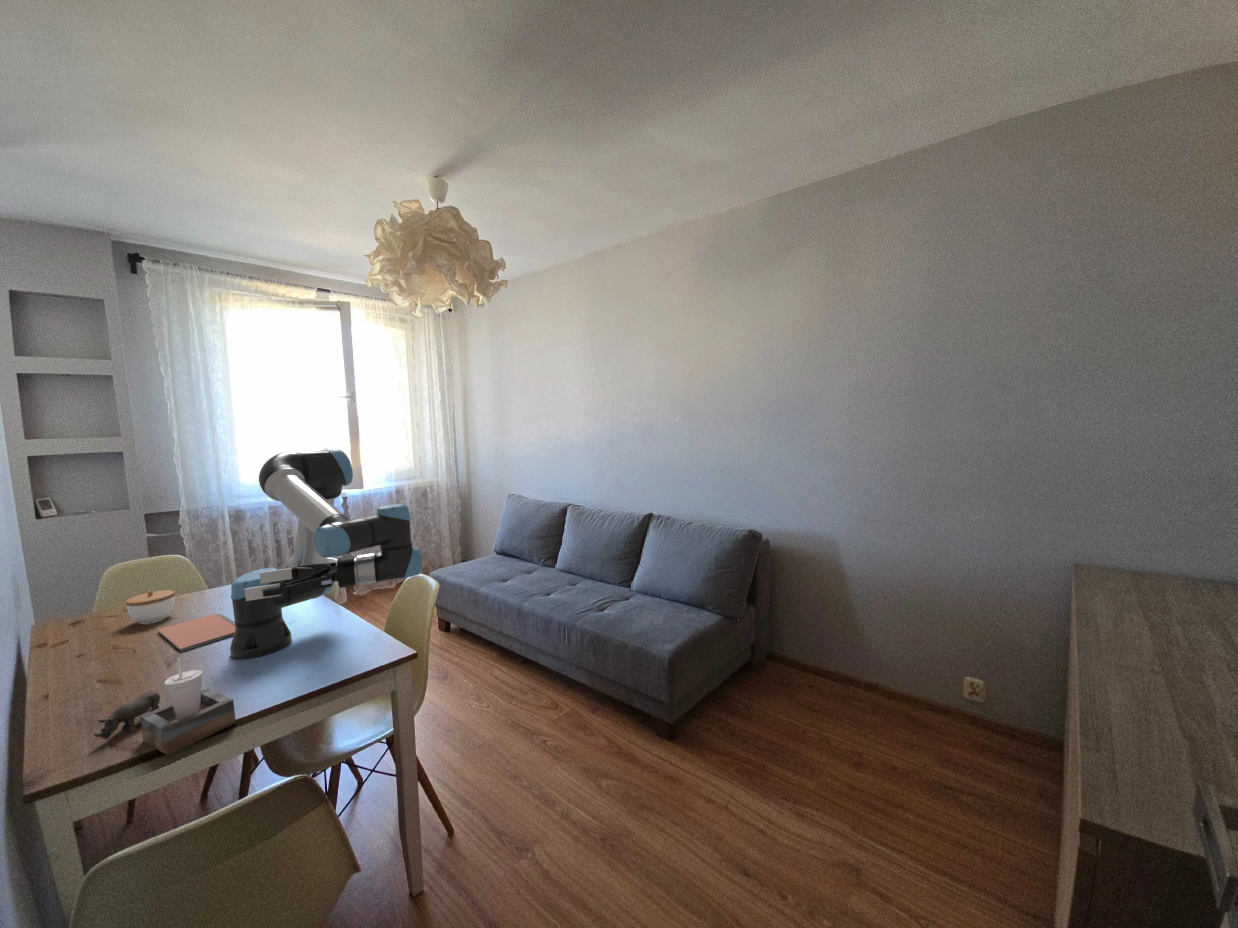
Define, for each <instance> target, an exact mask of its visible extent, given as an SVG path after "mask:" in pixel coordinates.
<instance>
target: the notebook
mask: <svg viewBox="0 0 1238 928" xmlns="http://www.w3.org/2000/svg"><path fill="white" fill-rule="evenodd" d="M233 623H234V624H233ZM157 631H158V633H159V634H160V635H161V636H162V637H164V638H165V639H166V640H167V641H168V642H169V643H171V644H172V646H174V647H175V648H176V649H178V650H179V651H180V653H181V652H186V651H188V650H191V649H194V648H198V647H201V646H204V645H207V644H210V643H211V644H212V643H214V642H216V641H217V642H218V641H220V640H224V639H227V637H228V638H231V637H233V635H234V632H235V620H234V621H233V620H232V619H230V618H228V616H225V615H223V614H222V613H212V614H209V615H205V616H202V617H198V618H194V619H191V620H187V621H184V622H180V623H176V624H173V625H169V626H166V627H162V628H158V629H157ZM230 636H231V637H230Z"/></svg>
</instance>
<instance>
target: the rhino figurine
mask: <svg viewBox="0 0 1238 928" xmlns="http://www.w3.org/2000/svg"><path fill="white" fill-rule="evenodd" d="M160 700H161V697H160V694H159V693H158V692H157V691H155V690H149V691H146V692H144V693H143V694H140V695H139V696H138V697H137V698H135V699H134V700H132V701H130V702H126V703H123V704H121V705H120V706H118V707H117V708H116V709H114V711H112V712H111V714H110V715H109V716H107V717H106V718H103V719H97V721H98V723H100V724H101V723H102V724H103V723H104V727H103V728H100V733H94V734H93V735H94V737H96V738H102V740H107V739H109V738H110V737H111V736H112V734H113V733H114V732H115V731H116V730H117V729H118V727H119V724H121V723H124V724H123V726H122V727H121V728H122V730H123V729H127V731H128V732H131V731H133V730H135V729H136V728H137V726H136V725H135V723H136V718H137V717H140V716H142V715H144V714H146V713H147V711H149V710H150V709H151V710H150V711H149V712H152V711H154V710H156V709H159V708H160V706H159V704H160Z"/></svg>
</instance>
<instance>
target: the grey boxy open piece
mask: <svg viewBox="0 0 1238 928" xmlns="http://www.w3.org/2000/svg"><path fill="white" fill-rule="evenodd" d="M234 702H235V701H234V699H233V698H230V697H229V696H226V695H223V694H222V693H219V692H217V691H215V690H212V689H210V688H208V687H206V688H205V689H201V703H200V711H199V712H197V713H194V714H192V715H190V716H188V717H186V718H183V719H181V720H179V721H177V718H176V715H175V711H174V708H173V705H172V702H170V703H169V704H166V705H164V706H161V707H159V709H156V710H154V711H152V712H150V711H149V712H148V713H147V712H146V713H144V714H142V715H140V716H139V718H140V725H141V728H140V729H141V734H142V741H144V742H146V743H147V744H148V745H150V746H152V747H153V748H155V749H157V750H158V751H160V752H161V753H163V754H164V755H166V756H168V757H169V756H171V755H173V754H176V753H178V752H180V751H182V750H183V749H186V748H188V747H189V746H192V745H193V744H195V743H197V742H199V741H200V742H201V740H204V739H206V738H207V737H210V736H211V735H213V734H215V733H217V732H220V731H222V730H224V729H226V728H228V727H231V726H232V725H234V724H236V723H237V722H236V721H237V720H236V713H235V712H236V711H235V703H234Z"/></svg>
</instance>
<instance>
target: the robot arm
mask: <svg viewBox="0 0 1238 928" xmlns="http://www.w3.org/2000/svg"><path fill="white" fill-rule="evenodd" d="M353 471H354V470H353V466H352V463H351V460H350V458H349V457H348V455H347V453H345V452H344V451H343V450H341V449H339V448H324V449H309V450H296V451H295V450H294V451H293V450H292V451H290V450H289V451H284V452H280V453H278V454H275V455H273V456H272V457H270V458H269V459H267V461H266V462H264V464H263V465H262V467H261V468H260V471H259V474H258V483H259V486H260V489H261V490H262V492H263V493H264V494H265V495H267V497H268V498H270V499H271V500H272V501H273V500H274V501H277V502H280V503H281V504H282V505H283V506H284V507H286V509H288V510H289V511H290V512H291V513H292V514H293V515H294V516H295V517H296V518H297V519H298V523H297V529H296V530H297V531H296V537H295V545H294V552H293V556H291V557H290V558H289V559H288V561H287V562H286V568H281V569H277V568H276V567H264V568H259V569H255V570H253V571H250V572H247V573H244V574H242V575H240V576H238V577H237V578H236V579H234V580H233V581H232V582H231V586H230V589H231V593H230V594H231V595H230V598H231V601H232V610H233V619H234V622H235V632H234V636H232V639H231V640H232V641H231V643H230V647H229V649H230V650H229V651H230V656H231V657H232V658H233V659H238V660H239V659H241V660H242V659H243V660H244V659H252V658H257V657H262V656H267V655H269V654H272V653H275V652H277V651H280V650H281V649H284V648H285V647H287V646H288V645H290V643H291V642H292V640H293V639H292V638H293V637H292V632H291V630H290V628H289V627H288V625H287V623H286V621H285V619H284V617H283V611H282V609H284V608H285V607H289V606H293V605H296V604H299V603H300V604H301V603H303V602H306V601H309V600H310V601H311V600H313V599H317V598H319V597H323V596H324V595H327V594H328V593H329V592H331V590H332V589H333V587H334V585H335V582H337V584H338V587H339V589H345V588H348V587H349V588H351V587H355V586H356V585H357V584H358V585H368V586H372V585H373V583H379V582H385V581H392V580H393V581H394V580H400V579H407V578H411V577H415V576H419V575H420V574H421V573H422V571H423V562H422V551H421V548H420V547H418V546H413V542H412V531H411V515H410V511H409V506H407V505H406V504H403V503H392V504H385V505H381V506H379V507H377V508H376V515H372V516H368V517H367V516H366V517H362V518H358V519H357V518H356V519H351V518H349V517H347V516H346V515H345V514H344V513H343V512H342V511H340V510H339V509H338V508H337V507H336V506H334V505H335V500H336V499H337V498H339V497H340V496H342V495H341V494H342V492H343V487H347V486H349V485H350V484H351V483H352V482H353V478H354V472H353ZM378 546H380V547H379V548H380V549H379V550H380V551H379V552H371V553H363V554H357V555H356V557H355V556H353V555H350V556H344V555H346V554H351V553H354V552H357V551H363V550H366V549H369V548H373V547H378ZM341 556H342V557H341ZM332 557H338V558H337V560H336V562H335V561H334V562H331V561H330V560H329V559H328V558H332Z"/></svg>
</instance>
